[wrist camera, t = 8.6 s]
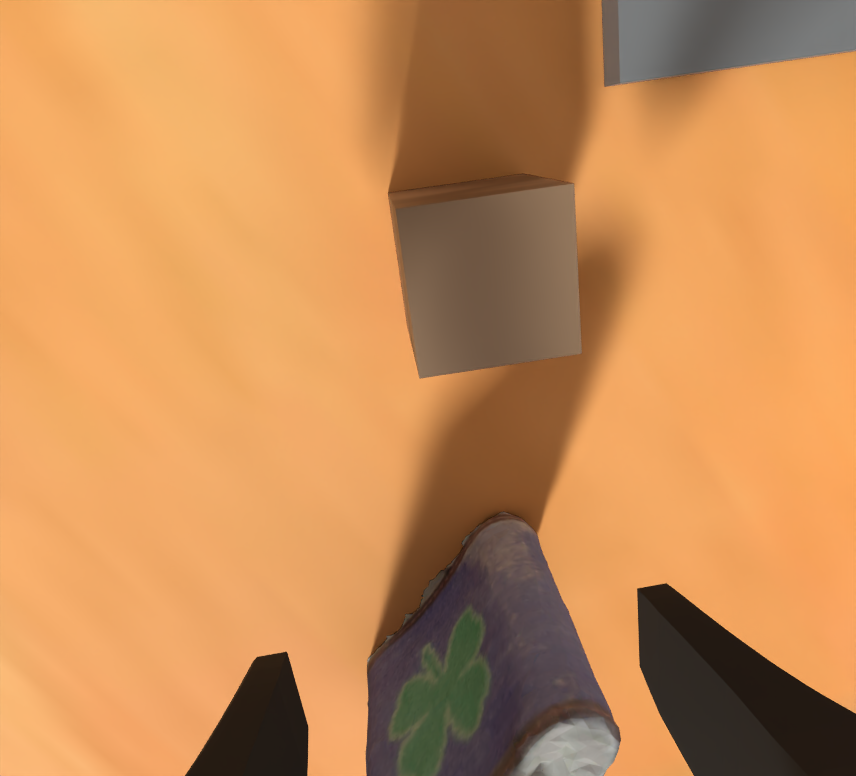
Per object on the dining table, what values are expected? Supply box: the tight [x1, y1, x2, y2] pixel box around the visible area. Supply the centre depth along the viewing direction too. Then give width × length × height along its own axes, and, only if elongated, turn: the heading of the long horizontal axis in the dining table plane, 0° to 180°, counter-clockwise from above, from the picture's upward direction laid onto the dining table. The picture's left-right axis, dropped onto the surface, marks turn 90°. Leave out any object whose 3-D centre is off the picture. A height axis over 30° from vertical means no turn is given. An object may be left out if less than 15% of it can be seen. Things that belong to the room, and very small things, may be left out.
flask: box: [366, 512, 621, 776], centre depth 19 cm, size 9×3×11 cm, turn 144°
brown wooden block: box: [388, 174, 582, 378], centre depth 17 cm, size 4×4×5 cm
